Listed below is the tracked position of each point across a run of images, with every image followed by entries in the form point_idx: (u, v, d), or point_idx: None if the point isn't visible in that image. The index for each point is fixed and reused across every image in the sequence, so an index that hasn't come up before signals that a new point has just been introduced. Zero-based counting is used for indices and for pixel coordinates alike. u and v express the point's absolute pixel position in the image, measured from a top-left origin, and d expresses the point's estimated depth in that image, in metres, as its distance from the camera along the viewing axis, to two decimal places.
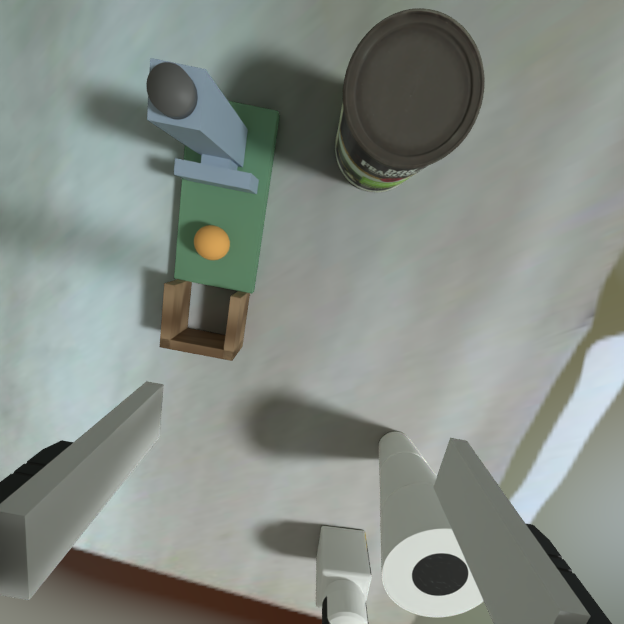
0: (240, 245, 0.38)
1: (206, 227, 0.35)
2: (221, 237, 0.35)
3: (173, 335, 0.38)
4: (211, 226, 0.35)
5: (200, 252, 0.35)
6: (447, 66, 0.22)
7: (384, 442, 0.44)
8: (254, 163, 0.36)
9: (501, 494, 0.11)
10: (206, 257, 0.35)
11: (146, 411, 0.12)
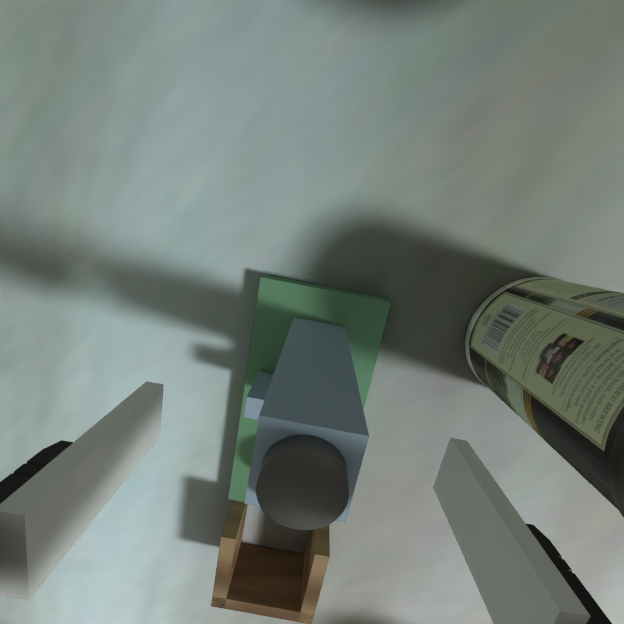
0: None
1: None
2: None
3: (229, 585, 0.28)
4: None
5: None
6: None
7: None
8: None
9: (501, 494, 0.11)
10: None
11: (146, 411, 0.12)
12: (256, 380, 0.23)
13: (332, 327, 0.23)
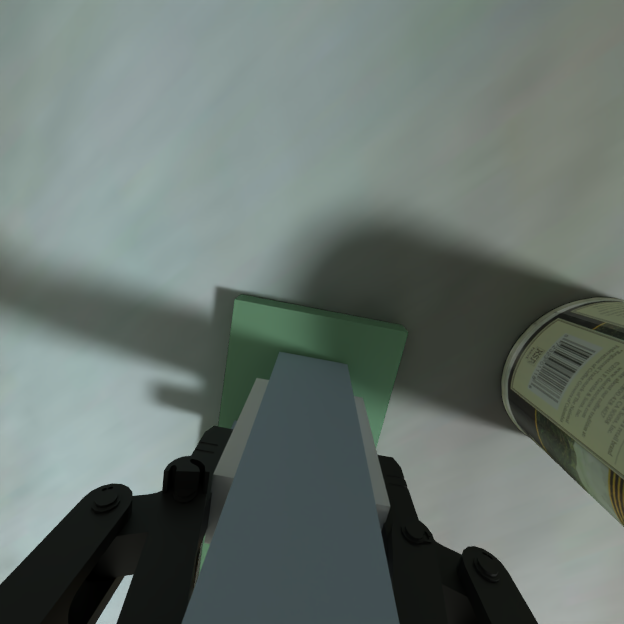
0: None
1: None
2: None
3: None
4: None
5: None
6: None
7: None
8: None
9: (370, 433, 0.13)
10: None
11: None
12: None
13: (330, 367, 0.17)
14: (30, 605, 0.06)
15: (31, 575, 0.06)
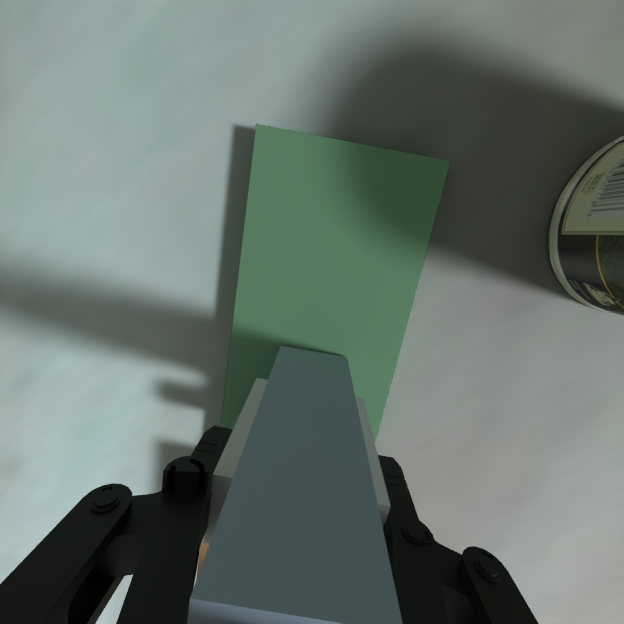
0: None
1: None
2: None
3: None
4: None
5: None
6: None
7: None
8: (389, 267, 0.17)
9: (371, 433, 0.13)
10: None
11: None
12: None
13: (330, 359, 0.17)
14: (30, 605, 0.06)
15: (31, 575, 0.06)
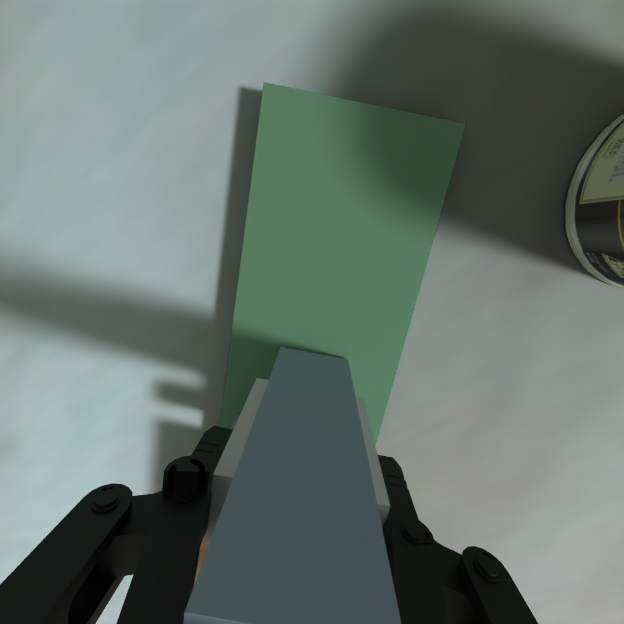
0: None
1: None
2: None
3: None
4: None
5: None
6: None
7: None
8: (399, 237, 0.16)
9: (371, 434, 0.13)
10: None
11: None
12: None
13: (330, 361, 0.17)
14: (30, 605, 0.06)
15: (31, 575, 0.06)
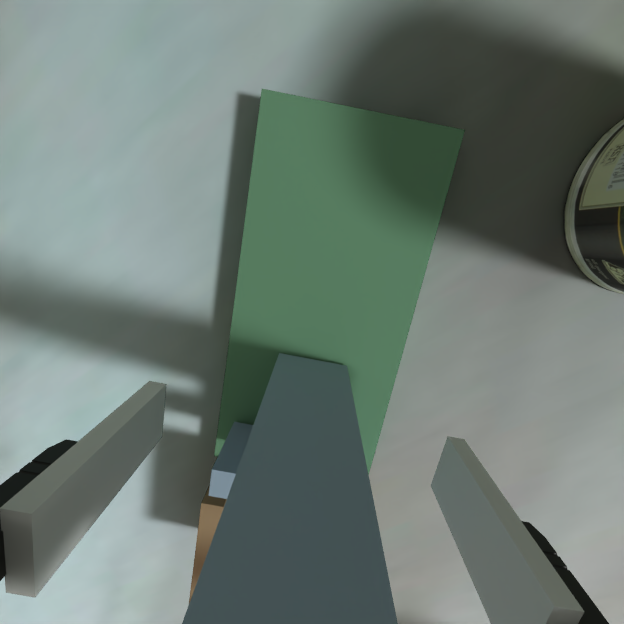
0: None
1: None
2: None
3: None
4: None
5: None
6: None
7: None
8: (398, 243, 0.16)
9: (498, 492, 0.11)
10: None
11: (149, 410, 0.12)
12: (229, 438, 0.17)
13: (329, 368, 0.17)
14: None
15: None
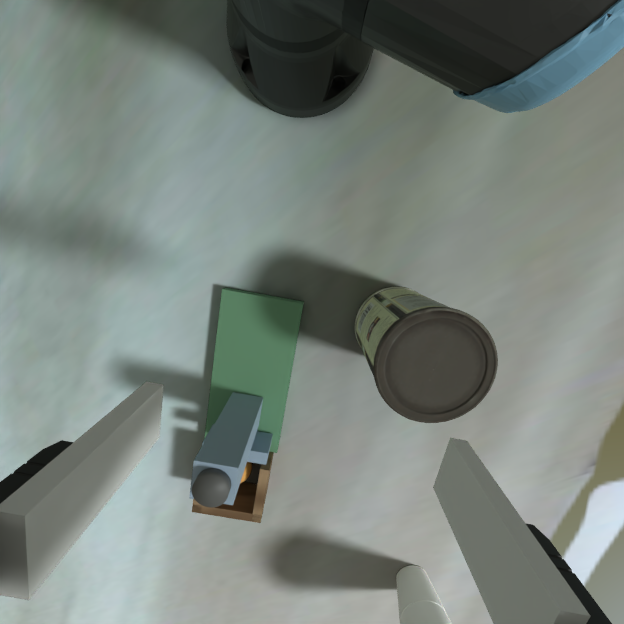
0: (267, 412, 0.41)
1: None
2: None
3: None
4: None
5: None
6: (465, 348, 0.26)
7: (402, 580, 0.46)
8: (281, 346, 0.39)
9: (501, 494, 0.11)
10: None
11: (146, 411, 0.12)
12: (210, 430, 0.39)
13: (254, 399, 0.39)
14: None
15: None
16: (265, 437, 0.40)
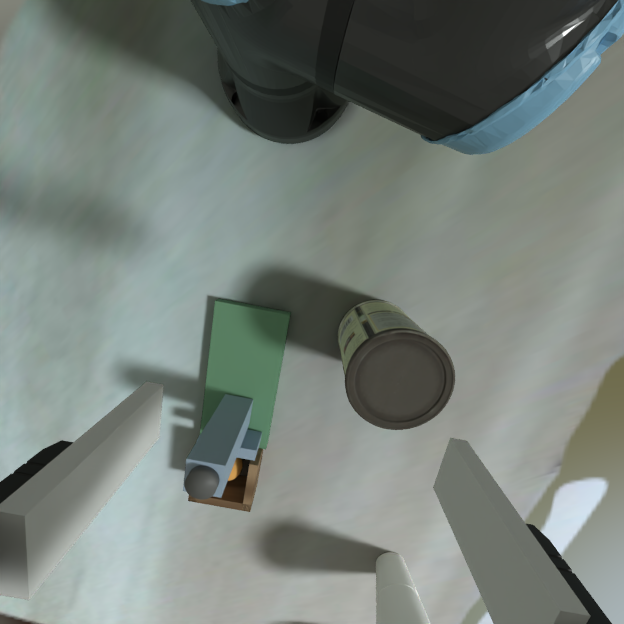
0: (257, 413, 0.44)
1: None
2: None
3: None
4: None
5: None
6: (426, 365, 0.29)
7: (380, 565, 0.50)
8: (269, 353, 0.42)
9: (501, 494, 0.11)
10: None
11: (146, 411, 0.12)
12: (204, 428, 0.43)
13: (244, 401, 0.43)
14: None
15: None
16: (255, 435, 0.44)
